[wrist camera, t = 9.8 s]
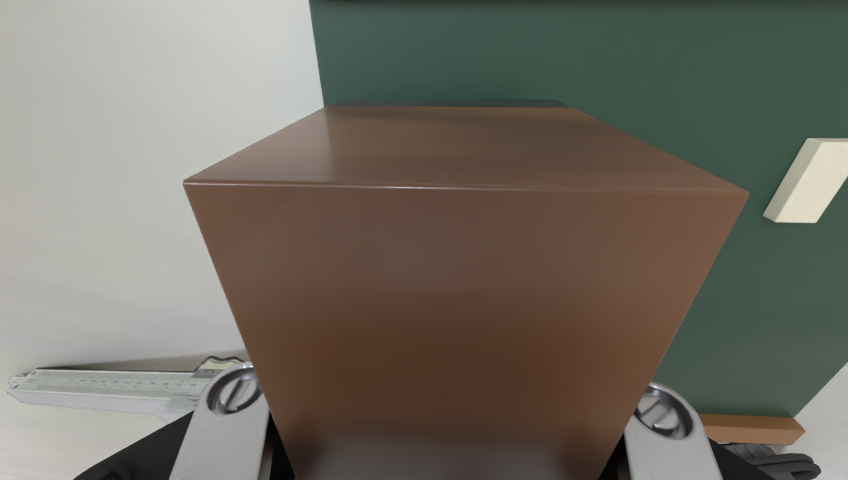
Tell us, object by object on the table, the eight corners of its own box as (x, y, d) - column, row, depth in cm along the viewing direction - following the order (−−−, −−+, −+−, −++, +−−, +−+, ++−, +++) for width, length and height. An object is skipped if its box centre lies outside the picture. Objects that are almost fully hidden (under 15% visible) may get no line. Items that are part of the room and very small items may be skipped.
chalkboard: (372, 392, 18) (365, 426, 16) (314, -59, 8) (286, -82, 7) (759, 409, 17) (791, 445, 15) (1170, -72, 8) (1356, -101, 6)
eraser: (375, 392, 13) (337, 588, 9) (342, 97, 8) (178, 180, 3) (500, 398, 13) (533, 602, 8) (557, 99, 8) (756, 192, 3)
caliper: (355, 304, 15) (305, 455, 9) (364, 322, 15) (321, 474, 10) (16, 371, 18) (-159, 507, 13) (33, 383, 19) (-130, 519, 14)
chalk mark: (761, 215, 10) (775, 222, 10) (806, 137, 9) (823, 142, 9) (800, 216, 10) (816, 223, 10) (851, 137, 9) (871, 142, 9)
